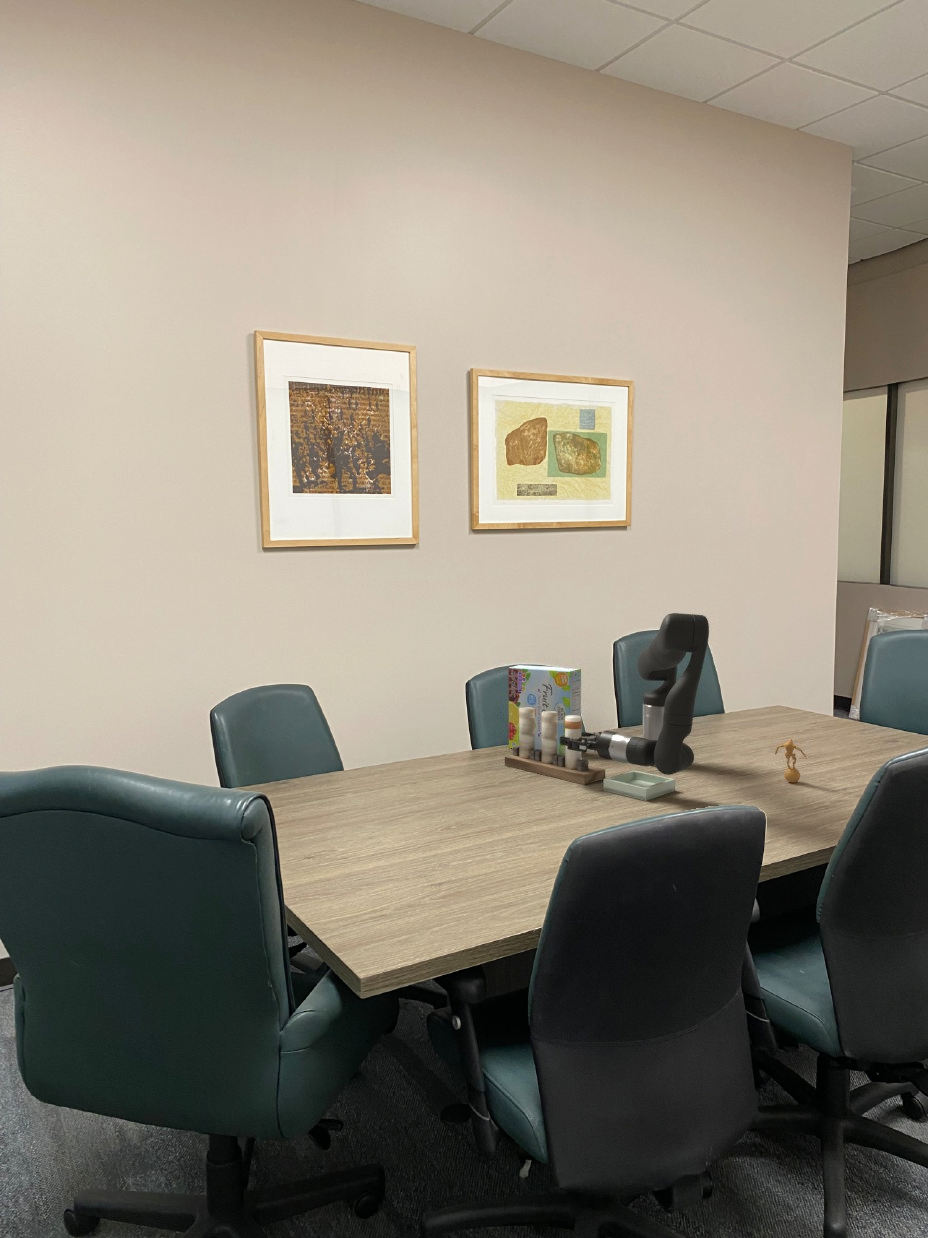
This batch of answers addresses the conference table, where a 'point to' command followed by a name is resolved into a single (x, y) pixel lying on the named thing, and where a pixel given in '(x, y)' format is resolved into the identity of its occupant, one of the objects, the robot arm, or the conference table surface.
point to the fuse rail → (557, 770)
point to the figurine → (792, 773)
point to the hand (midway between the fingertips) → (570, 737)
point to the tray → (639, 785)
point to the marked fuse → (572, 731)
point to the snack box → (543, 698)
